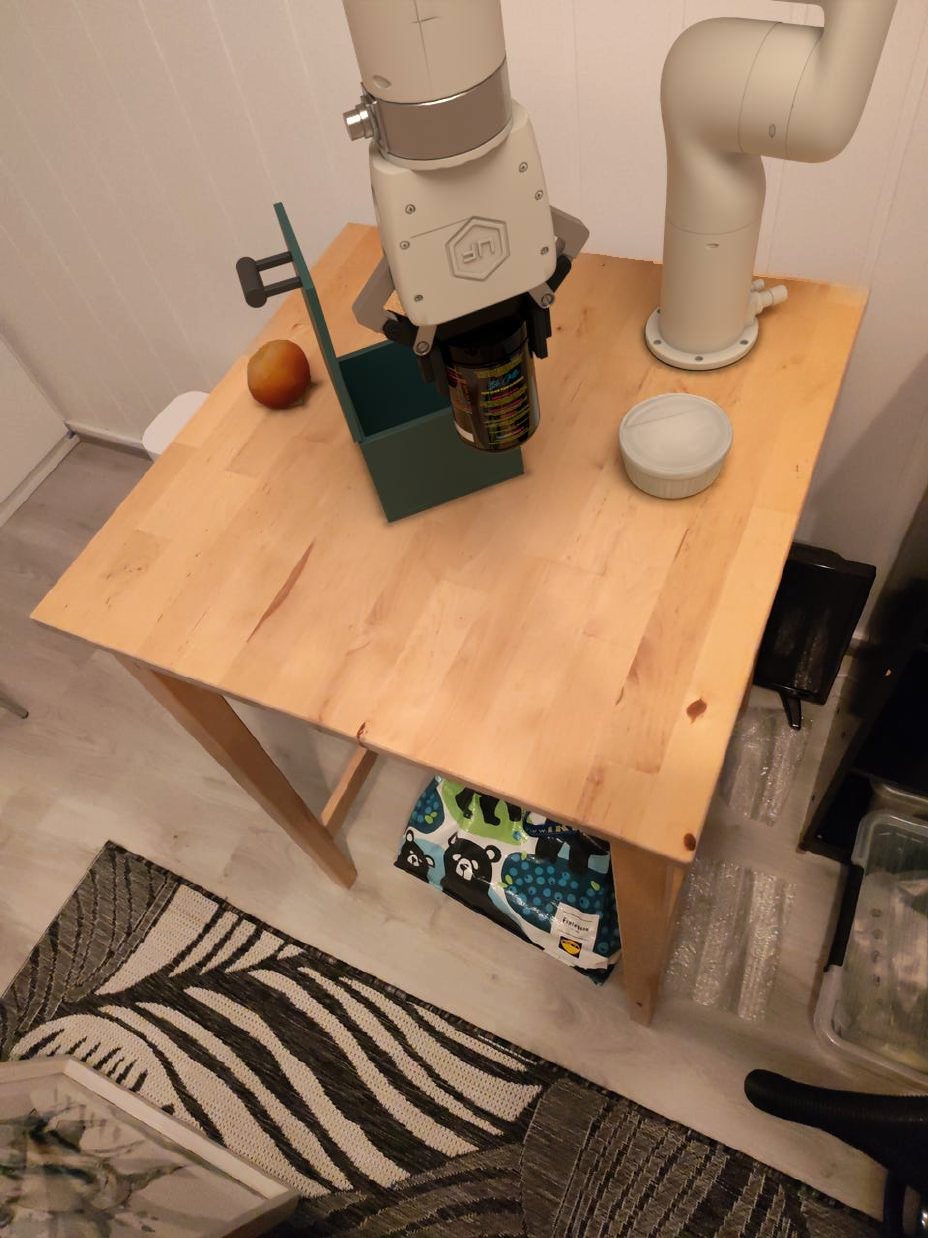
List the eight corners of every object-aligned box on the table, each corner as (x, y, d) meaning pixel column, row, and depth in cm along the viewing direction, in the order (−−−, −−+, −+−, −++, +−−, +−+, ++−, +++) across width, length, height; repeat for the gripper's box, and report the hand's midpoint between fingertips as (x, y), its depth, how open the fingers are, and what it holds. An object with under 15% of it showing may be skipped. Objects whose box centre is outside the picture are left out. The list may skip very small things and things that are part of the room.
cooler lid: (281, 201, 69) (219, 219, 69) (314, 286, 62) (245, 307, 61) (330, 355, 83) (278, 371, 83) (362, 440, 76) (305, 459, 75)
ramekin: (665, 413, 88) (667, 375, 83) (750, 460, 82) (758, 423, 78) (595, 473, 85) (594, 437, 80) (679, 526, 79) (683, 491, 75)
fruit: (318, 409, 95) (265, 363, 90) (278, 432, 100) (226, 390, 95) (337, 363, 99) (287, 316, 94) (297, 387, 104) (249, 344, 99)
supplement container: (560, 420, 62) (549, 305, 53) (497, 472, 60) (476, 362, 51) (500, 383, 65) (480, 269, 56) (439, 431, 63) (409, 322, 55)
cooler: (483, 395, 94) (467, 310, 84) (524, 473, 86) (512, 389, 77) (358, 440, 93) (327, 360, 83) (388, 523, 86) (359, 445, 76)
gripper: (303, 193, 40) (390, 443, 55) (621, 76, 41) (621, 354, 56) (273, 128, 44) (361, 376, 59) (562, 23, 45) (577, 294, 60)
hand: (487, 364), depth 57 cm, fingers closed on supplement container, 6 cm apart
